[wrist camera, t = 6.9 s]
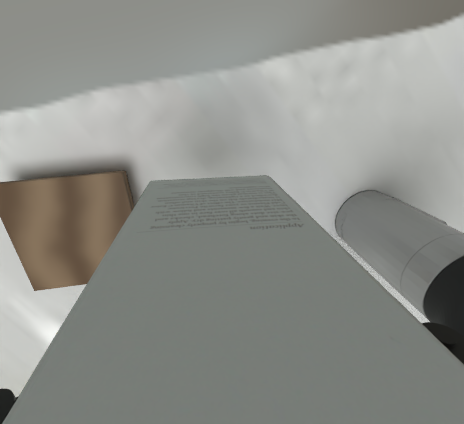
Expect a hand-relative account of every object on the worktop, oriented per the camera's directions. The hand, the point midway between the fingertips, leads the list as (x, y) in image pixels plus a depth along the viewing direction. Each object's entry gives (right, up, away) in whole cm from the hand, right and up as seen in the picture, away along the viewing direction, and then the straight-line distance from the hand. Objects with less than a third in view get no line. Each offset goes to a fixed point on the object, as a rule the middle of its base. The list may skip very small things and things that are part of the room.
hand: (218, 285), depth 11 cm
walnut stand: (-19, +2, +24) cm, 30 cm away
